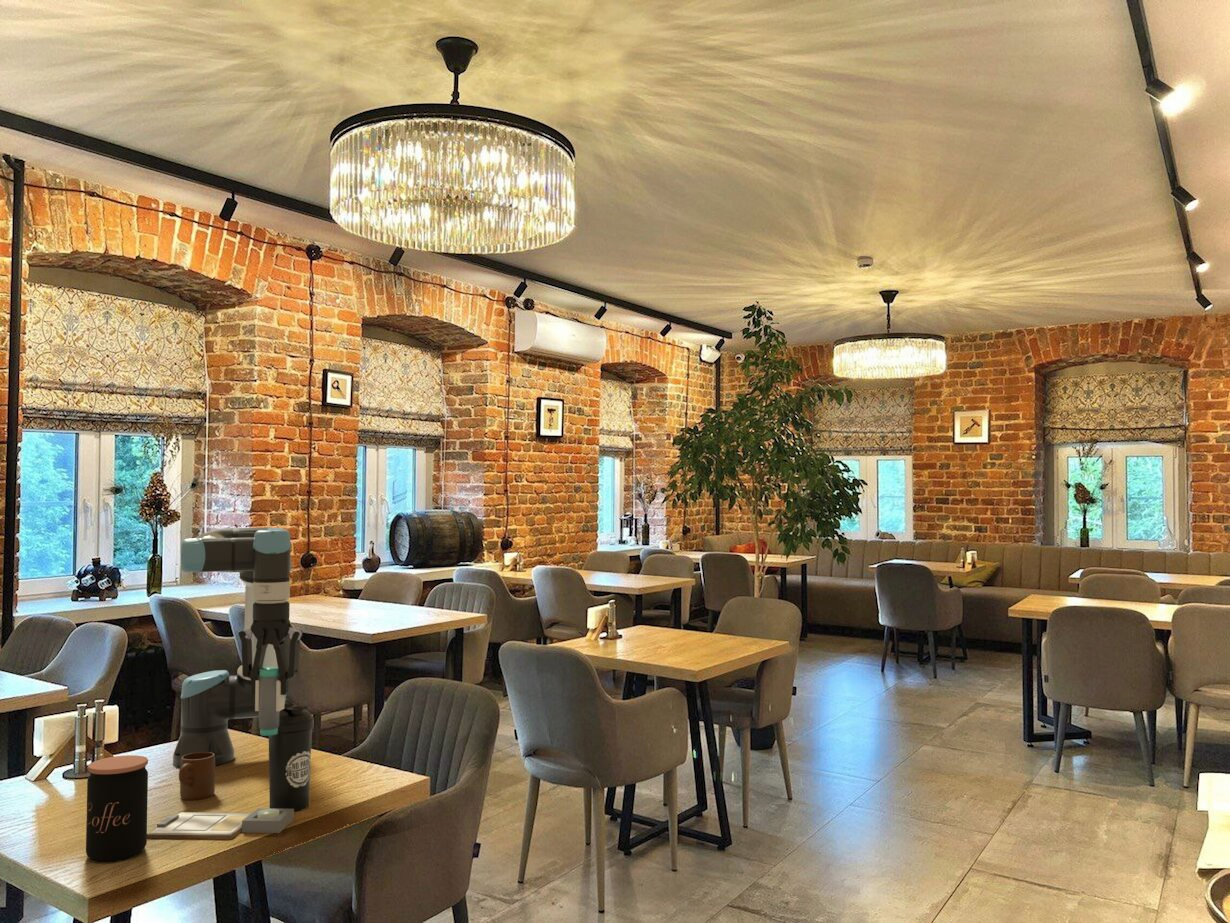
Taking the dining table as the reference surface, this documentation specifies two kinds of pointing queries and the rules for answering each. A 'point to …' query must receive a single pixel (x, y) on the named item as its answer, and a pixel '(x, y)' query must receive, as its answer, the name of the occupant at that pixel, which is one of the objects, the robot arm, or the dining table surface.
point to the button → (268, 813)
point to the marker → (268, 701)
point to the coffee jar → (116, 808)
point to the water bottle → (291, 759)
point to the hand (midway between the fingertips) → (269, 709)
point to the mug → (197, 775)
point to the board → (199, 826)
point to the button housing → (267, 822)
